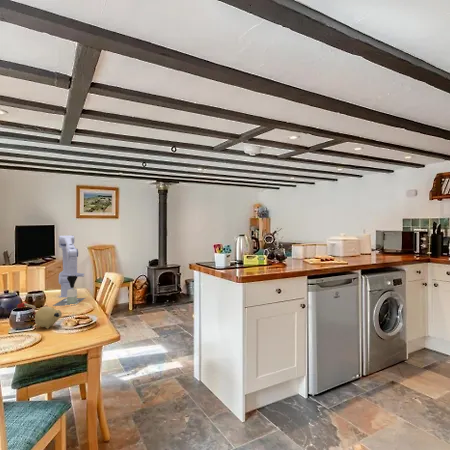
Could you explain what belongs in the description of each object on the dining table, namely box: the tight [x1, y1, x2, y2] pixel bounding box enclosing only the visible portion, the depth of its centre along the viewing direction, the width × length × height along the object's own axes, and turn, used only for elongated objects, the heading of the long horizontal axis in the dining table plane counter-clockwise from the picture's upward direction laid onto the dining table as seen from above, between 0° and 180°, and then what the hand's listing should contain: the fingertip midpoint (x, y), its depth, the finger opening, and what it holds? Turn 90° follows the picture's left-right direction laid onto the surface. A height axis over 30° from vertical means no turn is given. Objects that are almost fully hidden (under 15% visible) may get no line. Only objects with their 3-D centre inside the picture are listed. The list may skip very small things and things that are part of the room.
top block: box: [66, 288, 78, 298], centre depth 206 cm, size 4×4×4 cm
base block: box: [66, 295, 78, 304], centre depth 206 cm, size 4×4×4 cm
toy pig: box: [34, 306, 63, 330], centre depth 159 cm, size 10×12×11 cm
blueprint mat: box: [52, 297, 86, 307], centre depth 210 cm, size 20×14×1 cm
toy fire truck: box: [16, 301, 37, 311], centre depth 169 cm, size 3×14×10 cm, turn 84°
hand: (72, 287), depth 208 cm, fingers closed
